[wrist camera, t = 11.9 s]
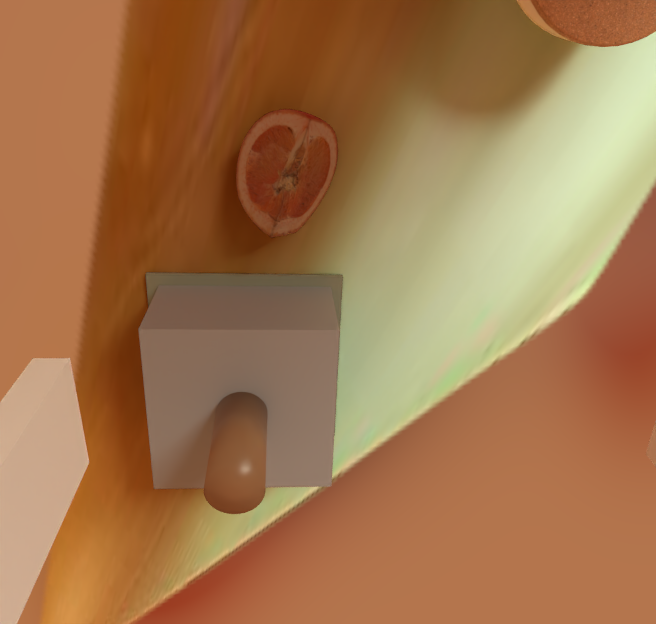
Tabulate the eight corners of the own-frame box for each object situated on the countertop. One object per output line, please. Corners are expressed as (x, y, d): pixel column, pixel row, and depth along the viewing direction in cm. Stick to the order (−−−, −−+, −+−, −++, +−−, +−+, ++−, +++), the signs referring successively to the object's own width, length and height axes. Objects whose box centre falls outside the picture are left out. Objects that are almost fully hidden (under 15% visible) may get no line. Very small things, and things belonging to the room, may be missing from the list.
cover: (331, 286, 49) (352, 394, 35) (324, 427, 54) (340, 569, 40) (158, 285, 48) (107, 395, 34) (170, 428, 53) (130, 575, 39)
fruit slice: (309, 231, 47) (312, 252, 43) (223, 201, 46) (217, 220, 41) (350, 123, 44) (358, 135, 40) (259, 88, 43) (257, 96, 38)
